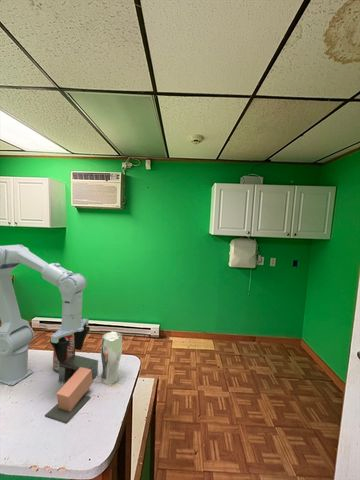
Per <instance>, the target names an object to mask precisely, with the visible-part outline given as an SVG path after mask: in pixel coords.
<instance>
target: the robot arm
mask: <svg viewBox="0 0 360 480" xmlns="http://www.w3.org/2000/svg"><path fill="white" fill-rule="evenodd" d="M29 249H30V248H29V247H26V246H24V245H23V244H18V243H17V244H10V245H9V244H7V245H0V323H1V325H0V383H2V384H5V385H8V386H14V385H16V384H17V383H19V382H21V381H22V380H23V379H25V378H27V377H29V376H30V375H32V374H33V373H34V370H35V369H34V370H33V369H29V368H28V367H29V366H28V365H29V364H28V361H29V357H28V356H29V347H30V346H31V342H32V341H33V340H34V338H35V337H34V336H35V332H34V330H33V328H32V327H31V325H30V322H29V321H28V320H26V319H23V318H22V317H21V312H20V307H19V304H18V300H17V296H16V292H15V289H14V285H13V281H12V276H11V274H12V272H13V271H14V269H15V268H17V267H18V266H20V265H21V264H23V265H24V266H26V267H29V268H30V269H33V270H34V271H36V272H38V273H40V274H41V277H42V279H43V280H45V281H46V282H49V283H50V284H52V285H54V286H55V287H57V288H58V290H59V292H60V294H61V300H62V303H61V304H62V306H61V308H62V310H61V326H60V327H59V329H57V330H56V331H55V332H54V333H53V334H51V335H50V339H49V343H50V344H51V346H52V348H53V351H54V350H55V352H56V355H57V359H58V361H59V362H64V361H65V359H66V352H67V347H68V345H69V342H70V341H68V340H65V339H64V337H65V336H67V335H69V334H72V333H74V341H75V350H78V351H81V350H82V349H83V346H84V342H85V340H86V338H87V335H88V333H89V331H90V328H91V327H90V326H88V325H89V318H82V316H83V315H82V312H83V295H84V293H83V290H85V289H86V288H87V284H88V283H87V282H88V281H87V278H86V277H85V276H84V275H83V274H82V273H78V272H77V273H74V272H73V271H72V270H68V269H66V268H64V267H62V266H61V265H62V264H60V263H59V262H53V263H52V262H51V263H48V262H47V261H45V260H43V259H42V258H41V257H39V256H37V255H36V254H34V253H33V252H31V251H30V250H29Z"/></svg>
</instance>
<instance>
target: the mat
mask: <svg viewBox="0 0 360 480" xmlns="http://www.w3.org/2000/svg"><path fill="white" fill-rule="evenodd" d="M91 398H92V397H91V395H90V396H89V395H87V394H86V395H85V394H84V395H83V396H82V397H81V399H80V400H79V401H78V403H77V404H76V405H75V407H74V408H73V409H72V410H71V412H70V411H67V410H63V409H60V408H58V403H56V404H55V405H54V406H53V407H52V408H51V409H49V411H47V412H46V414H44V417H46V418H49V419H51V420H55V421H58V422H61V423H64V424H68V423H69V422H70V420H71V419H72V418H74V416H75V415H76V414H77V413H78V412H79V411H80V410H81V409H82V408H83V407H84V406H85V404H87V402H88V401H89V400H90V399H91Z"/></svg>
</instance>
